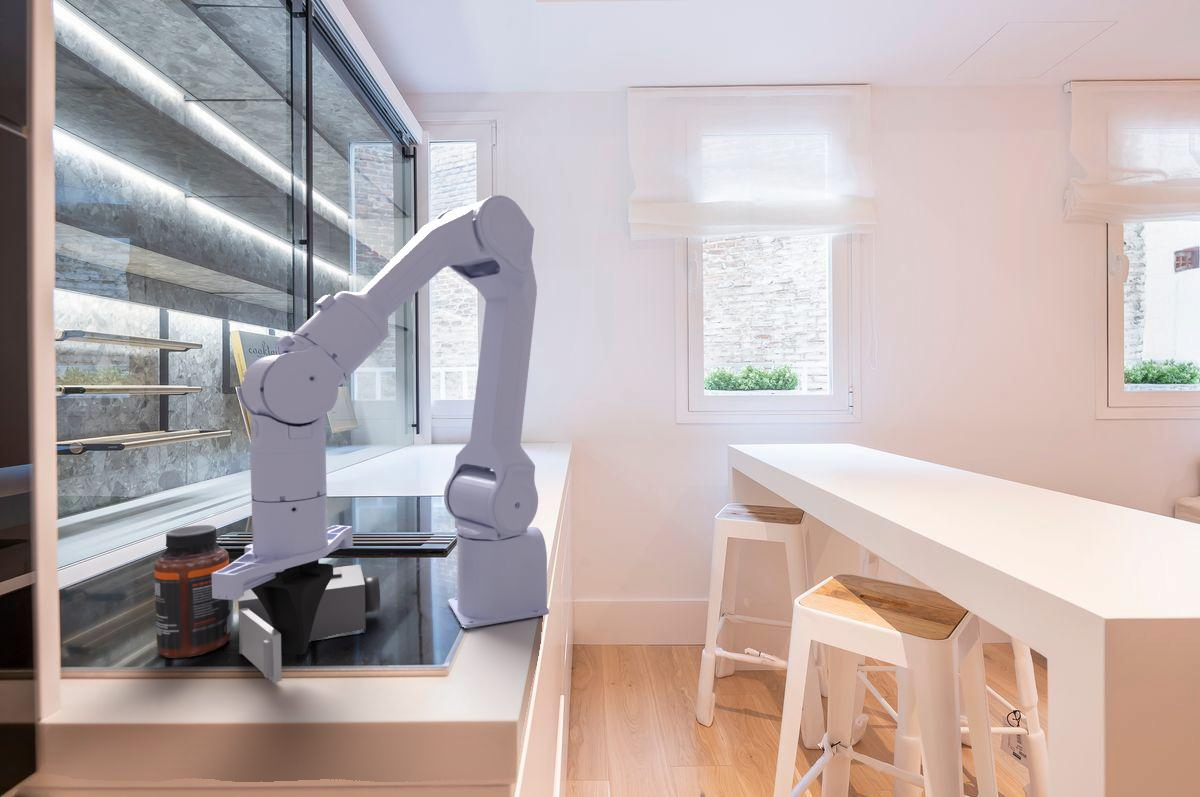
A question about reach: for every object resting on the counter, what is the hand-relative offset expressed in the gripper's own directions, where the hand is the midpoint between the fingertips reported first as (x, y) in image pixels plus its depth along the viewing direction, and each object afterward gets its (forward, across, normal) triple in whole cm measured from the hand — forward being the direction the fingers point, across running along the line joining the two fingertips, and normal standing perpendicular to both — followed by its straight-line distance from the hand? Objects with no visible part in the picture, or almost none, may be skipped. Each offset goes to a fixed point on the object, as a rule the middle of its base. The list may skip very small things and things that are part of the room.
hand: (293, 652), depth 53 cm
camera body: (+2, -9, -6) cm, 11 cm away
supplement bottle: (+2, -3, -13) cm, 14 cm away
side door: (+2, 0, -4) cm, 4 cm away
